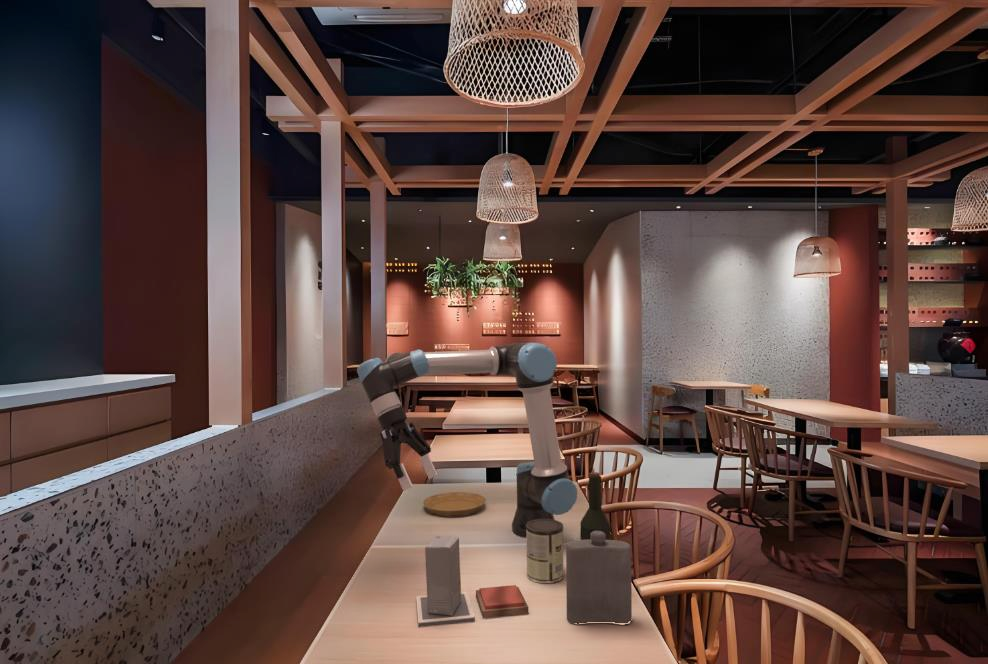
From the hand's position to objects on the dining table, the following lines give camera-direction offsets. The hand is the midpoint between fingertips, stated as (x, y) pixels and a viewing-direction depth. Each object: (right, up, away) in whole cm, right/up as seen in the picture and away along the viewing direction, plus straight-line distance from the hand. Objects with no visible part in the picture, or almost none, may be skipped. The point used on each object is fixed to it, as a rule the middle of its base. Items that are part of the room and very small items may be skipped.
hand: (421, 482), depth 148 cm
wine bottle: (+46, -27, -5) cm, 54 cm away
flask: (+44, -26, -21) cm, 55 cm away
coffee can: (+34, -27, +3) cm, 43 cm away
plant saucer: (+4, -28, +64) cm, 70 cm away
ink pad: (+21, -26, -13) cm, 37 cm away
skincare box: (+8, -26, -16) cm, 31 cm away
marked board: (+8, -26, -16) cm, 32 cm away
